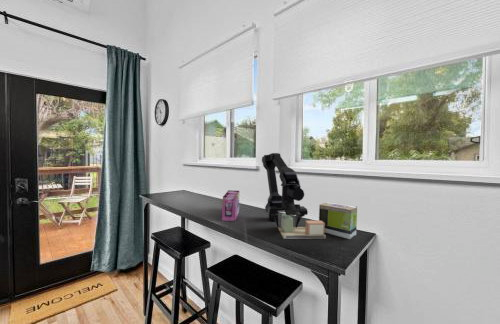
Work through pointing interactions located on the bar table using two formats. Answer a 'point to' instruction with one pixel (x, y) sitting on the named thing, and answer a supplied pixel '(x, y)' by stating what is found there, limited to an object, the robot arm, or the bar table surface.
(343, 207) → the tea box
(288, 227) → the sage carton
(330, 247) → the bar table surface
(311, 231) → the pink box
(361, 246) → the bar table surface
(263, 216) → the bar table surface
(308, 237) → the shelf board
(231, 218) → the gum box
